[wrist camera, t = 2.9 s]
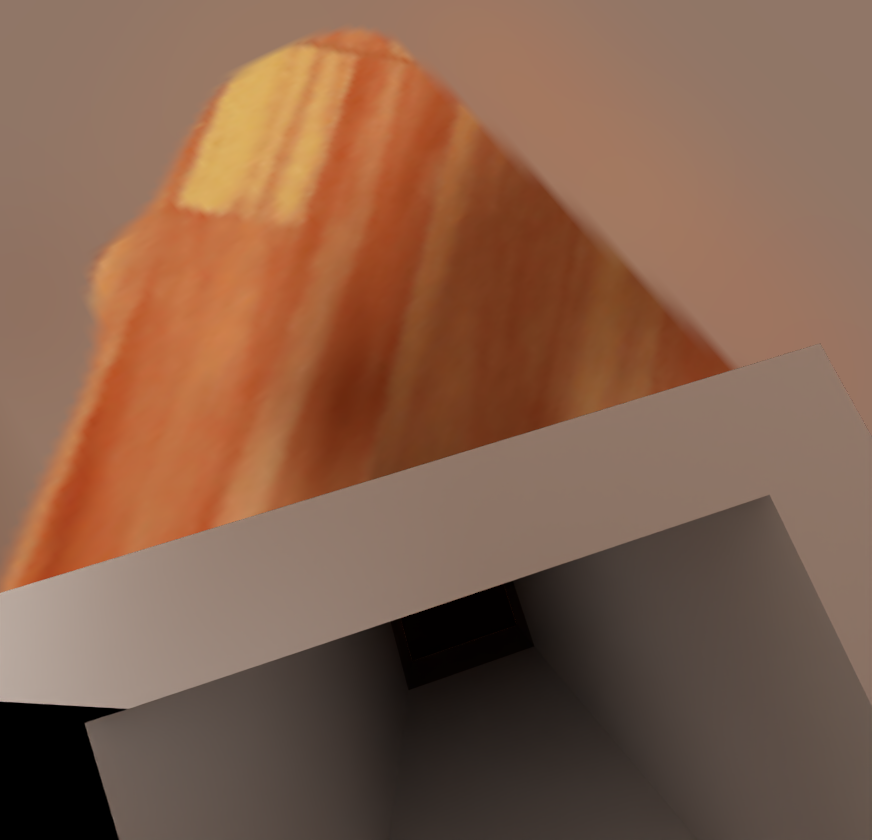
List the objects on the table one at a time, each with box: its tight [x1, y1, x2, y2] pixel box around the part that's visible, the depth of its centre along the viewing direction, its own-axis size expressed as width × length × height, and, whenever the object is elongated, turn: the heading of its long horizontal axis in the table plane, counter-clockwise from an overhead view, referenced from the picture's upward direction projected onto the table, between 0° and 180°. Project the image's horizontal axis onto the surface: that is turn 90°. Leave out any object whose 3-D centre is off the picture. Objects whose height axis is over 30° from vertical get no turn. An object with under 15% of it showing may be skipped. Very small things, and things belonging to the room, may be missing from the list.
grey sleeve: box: [0, 344, 872, 840], centre depth 8 cm, size 5×5×13 cm
